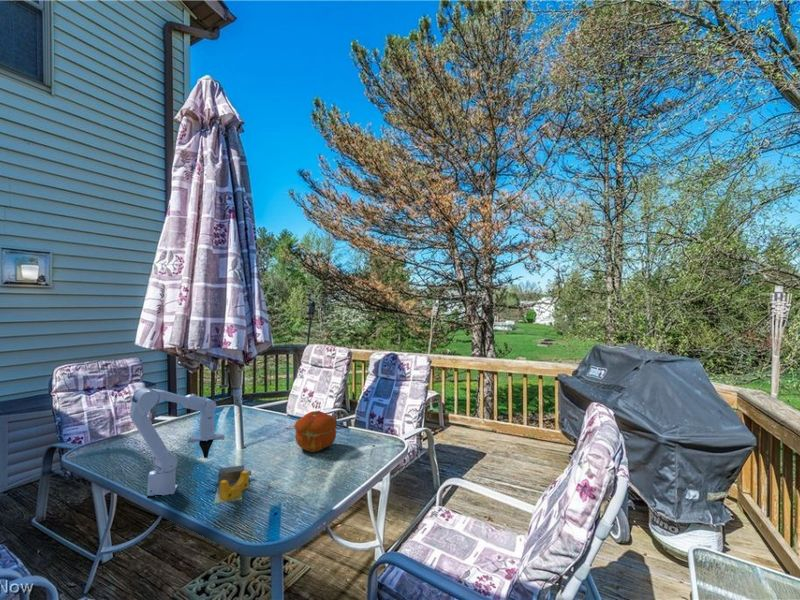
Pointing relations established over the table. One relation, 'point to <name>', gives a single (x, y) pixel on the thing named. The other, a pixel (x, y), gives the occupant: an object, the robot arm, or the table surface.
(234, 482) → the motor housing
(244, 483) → the pipe clamp
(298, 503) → the table surface
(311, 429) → the pumpkin
